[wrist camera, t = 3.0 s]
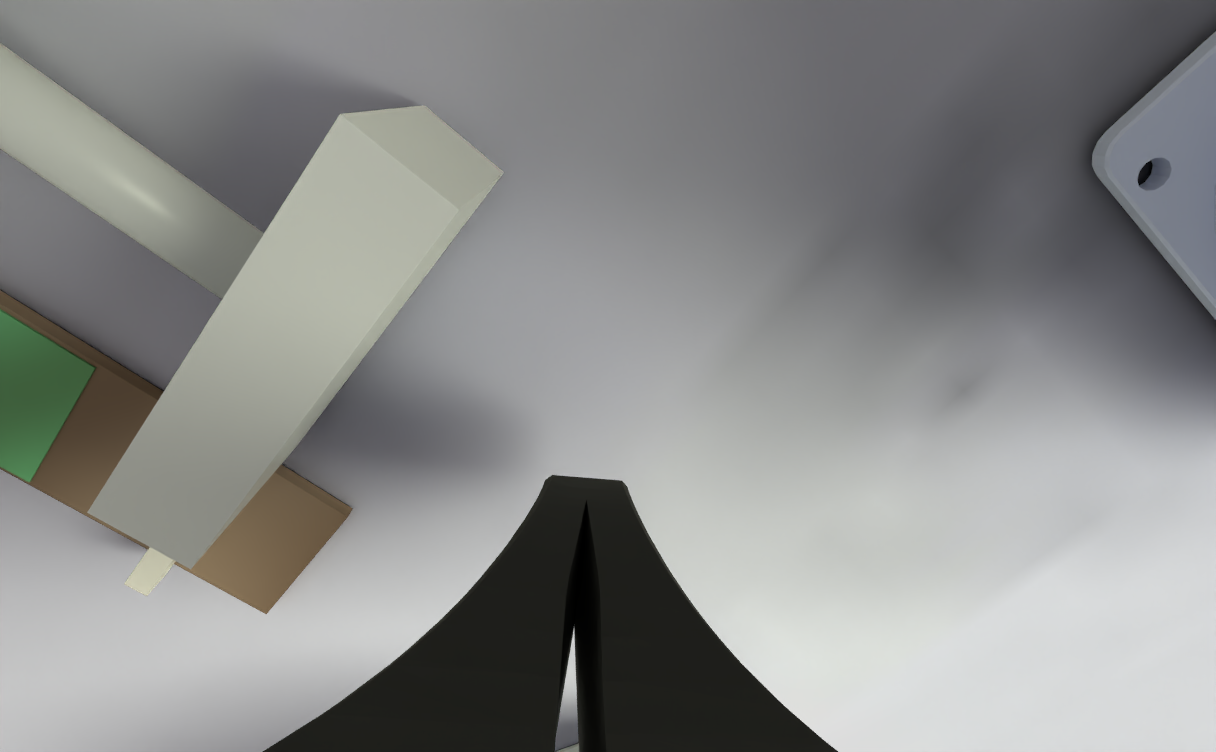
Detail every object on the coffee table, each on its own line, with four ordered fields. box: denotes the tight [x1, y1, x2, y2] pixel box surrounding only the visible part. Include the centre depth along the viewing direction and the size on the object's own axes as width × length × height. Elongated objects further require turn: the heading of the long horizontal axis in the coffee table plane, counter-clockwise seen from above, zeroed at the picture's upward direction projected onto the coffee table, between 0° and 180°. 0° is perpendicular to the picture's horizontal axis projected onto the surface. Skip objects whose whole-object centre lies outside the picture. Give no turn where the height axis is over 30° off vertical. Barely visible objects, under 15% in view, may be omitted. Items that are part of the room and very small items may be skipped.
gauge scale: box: [0, 291, 352, 614], centre depth 13 cm, size 11×4×1 cm, turn 49°
